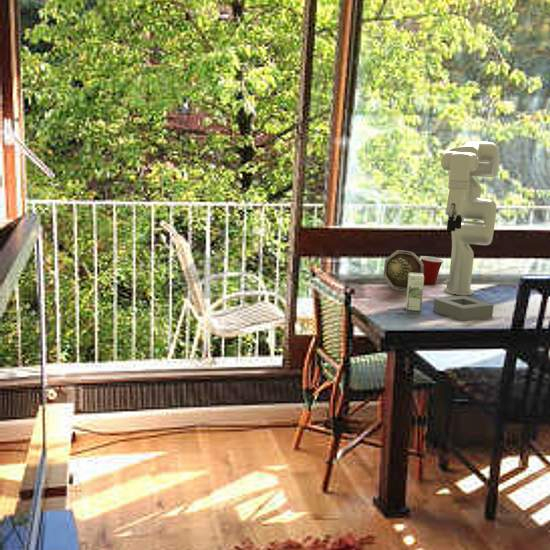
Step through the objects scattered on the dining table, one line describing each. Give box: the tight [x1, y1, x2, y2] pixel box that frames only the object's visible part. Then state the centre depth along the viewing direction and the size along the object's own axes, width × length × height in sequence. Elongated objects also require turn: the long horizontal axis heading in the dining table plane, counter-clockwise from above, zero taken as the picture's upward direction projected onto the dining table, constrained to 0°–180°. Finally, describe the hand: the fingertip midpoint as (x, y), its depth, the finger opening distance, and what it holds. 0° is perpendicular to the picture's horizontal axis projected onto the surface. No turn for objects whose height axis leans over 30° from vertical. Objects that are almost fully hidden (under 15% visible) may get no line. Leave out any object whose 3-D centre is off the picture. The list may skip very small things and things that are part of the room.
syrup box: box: [405, 273, 424, 312], centre depth 303 cm, size 6×6×14 cm
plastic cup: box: [419, 255, 444, 286], centre depth 353 cm, size 11×11×12 cm
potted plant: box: [382, 249, 424, 292], centre depth 334 cm, size 18×18×30 cm
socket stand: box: [432, 295, 494, 322], centre depth 300 cm, size 16×16×5 cm
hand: (453, 229), depth 298 cm, fingers open, 9 cm apart
